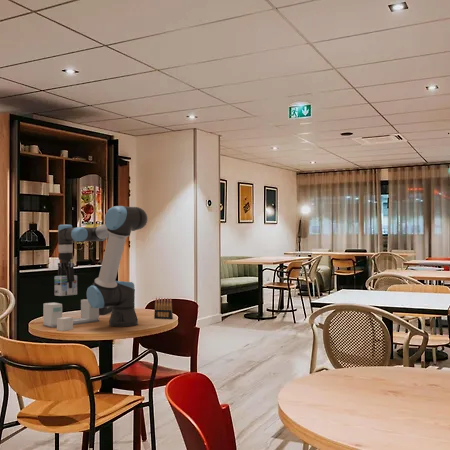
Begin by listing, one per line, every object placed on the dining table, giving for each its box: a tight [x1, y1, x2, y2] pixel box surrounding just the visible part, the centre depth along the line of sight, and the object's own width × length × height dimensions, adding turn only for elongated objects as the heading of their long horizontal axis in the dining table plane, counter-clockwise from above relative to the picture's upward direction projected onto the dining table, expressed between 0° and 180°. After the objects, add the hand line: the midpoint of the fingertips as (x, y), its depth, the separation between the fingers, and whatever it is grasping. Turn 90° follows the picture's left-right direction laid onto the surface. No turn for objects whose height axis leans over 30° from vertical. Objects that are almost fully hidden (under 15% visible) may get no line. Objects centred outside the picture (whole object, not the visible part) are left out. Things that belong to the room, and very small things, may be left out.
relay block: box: [56, 316, 74, 332], centre depth 259 cm, size 5×6×6 cm
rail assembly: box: [42, 298, 100, 329], centre depth 278 cm, size 10×28×12 cm, turn 135°
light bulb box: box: [54, 274, 78, 297], centre depth 284 cm, size 11×7×11 cm, turn 142°
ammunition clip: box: [153, 297, 174, 320], centre depth 293 cm, size 11×2×12 cm, turn 74°
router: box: [91, 282, 112, 316], centre depth 316 cm, size 8×18×20 cm, turn 174°
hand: (66, 293), depth 283 cm, fingers closed on light bulb box, 7 cm apart
